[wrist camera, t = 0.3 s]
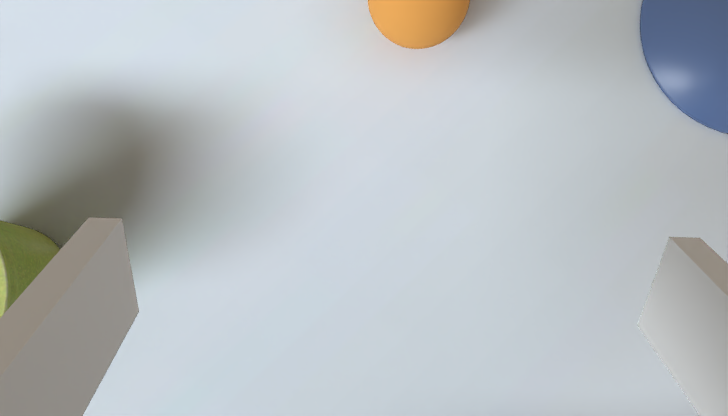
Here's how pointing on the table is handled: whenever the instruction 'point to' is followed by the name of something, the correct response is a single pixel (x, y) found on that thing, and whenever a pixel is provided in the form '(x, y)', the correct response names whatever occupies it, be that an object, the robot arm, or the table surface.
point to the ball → (418, 20)
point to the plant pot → (21, 260)
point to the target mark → (689, 55)
